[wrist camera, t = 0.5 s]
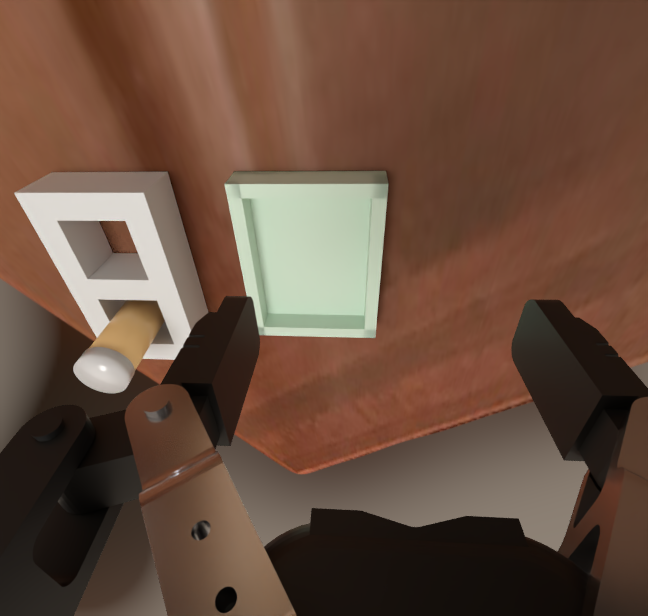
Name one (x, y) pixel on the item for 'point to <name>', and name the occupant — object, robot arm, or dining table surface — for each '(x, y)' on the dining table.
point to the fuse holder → (119, 268)
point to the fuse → (120, 347)
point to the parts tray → (311, 249)
